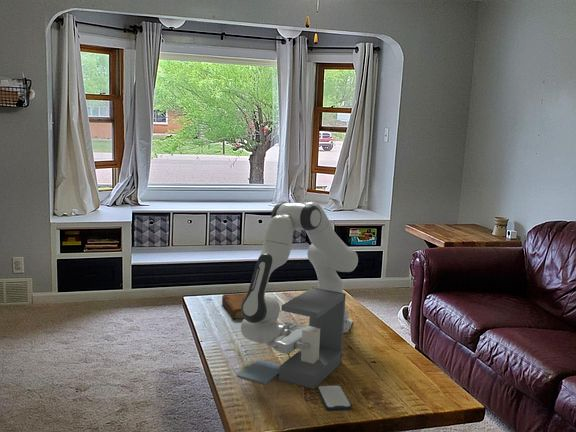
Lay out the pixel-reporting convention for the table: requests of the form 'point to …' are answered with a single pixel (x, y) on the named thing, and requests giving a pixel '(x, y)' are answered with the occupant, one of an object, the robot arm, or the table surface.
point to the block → (313, 338)
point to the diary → (234, 304)
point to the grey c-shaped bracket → (330, 319)
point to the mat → (260, 371)
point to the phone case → (334, 398)
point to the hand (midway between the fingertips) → (312, 343)
